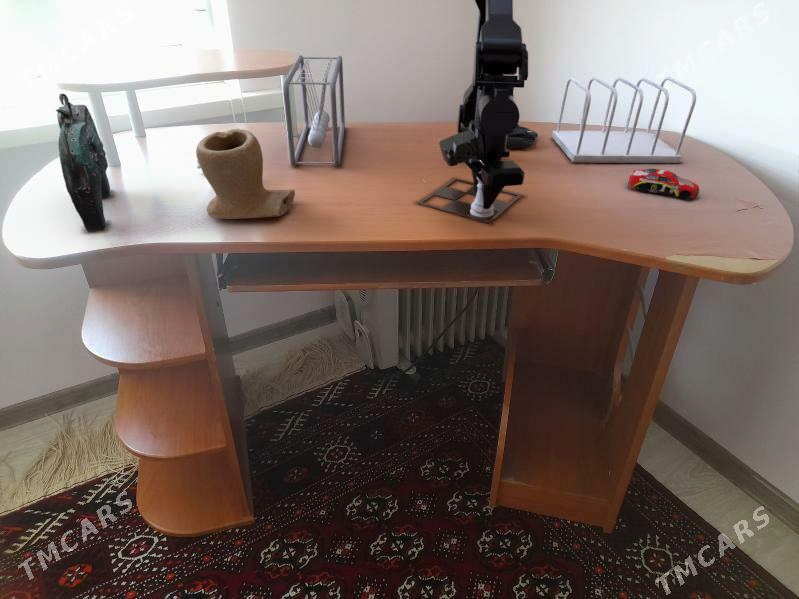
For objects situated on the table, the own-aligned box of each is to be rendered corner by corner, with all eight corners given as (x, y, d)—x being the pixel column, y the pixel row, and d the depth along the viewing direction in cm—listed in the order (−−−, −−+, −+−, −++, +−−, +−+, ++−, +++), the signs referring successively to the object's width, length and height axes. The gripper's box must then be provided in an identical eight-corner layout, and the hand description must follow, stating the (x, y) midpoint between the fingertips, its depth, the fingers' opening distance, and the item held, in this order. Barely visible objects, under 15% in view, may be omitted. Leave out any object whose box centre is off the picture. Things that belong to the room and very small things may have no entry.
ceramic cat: (85, 190, 106) (49, 83, 95) (121, 186, 108) (90, 81, 97) (75, 236, 91) (31, 114, 80) (117, 230, 93) (80, 111, 82)
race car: (697, 193, 110) (704, 174, 108) (696, 203, 106) (703, 183, 104) (629, 180, 115) (634, 162, 112) (625, 189, 111) (630, 170, 108)
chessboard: (455, 179, 114) (455, 178, 114) (521, 195, 107) (522, 194, 107) (417, 203, 104) (417, 202, 104) (489, 224, 97) (489, 223, 97)
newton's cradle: (304, 126, 142) (298, 53, 132) (345, 127, 142) (342, 53, 132) (290, 169, 117) (281, 83, 107) (339, 169, 118) (335, 83, 108)
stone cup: (199, 229, 94) (180, 143, 85) (216, 200, 103) (201, 121, 95) (287, 229, 94) (277, 144, 86) (296, 201, 104) (288, 121, 95)
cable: (465, 148, 130) (467, 129, 128) (466, 130, 142) (468, 113, 139) (538, 152, 128) (541, 133, 126) (533, 133, 140) (536, 116, 137)
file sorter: (572, 163, 122) (586, 91, 114) (550, 138, 137) (562, 73, 128) (680, 163, 124) (703, 92, 115) (648, 138, 138) (666, 73, 129)
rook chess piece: (493, 220, 98) (498, 178, 94) (468, 218, 99) (472, 176, 94) (494, 210, 102) (499, 169, 97) (470, 207, 103) (474, 167, 98)
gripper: (431, 104, 96) (427, 187, 105) (462, 137, 81) (455, 231, 90) (490, 101, 98) (482, 183, 107) (532, 134, 83) (518, 225, 92)
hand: (482, 204), depth 99 cm, fingers closed on rook chess piece, 3 cm apart
